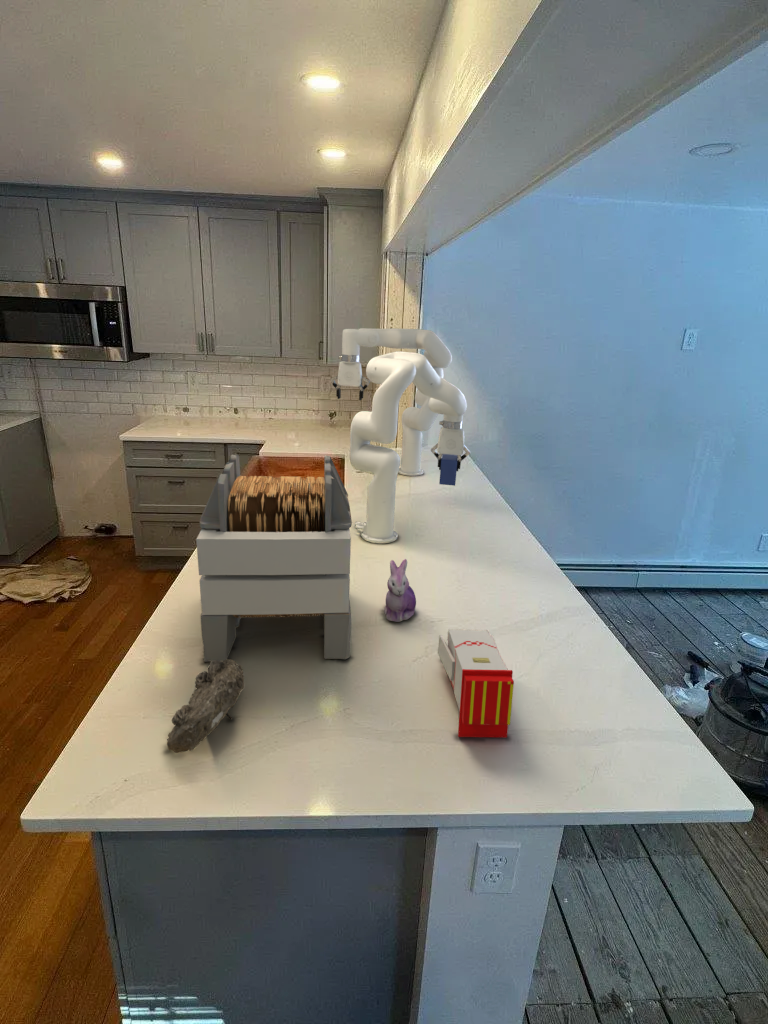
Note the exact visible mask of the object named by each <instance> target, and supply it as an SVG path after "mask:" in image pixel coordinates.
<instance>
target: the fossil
mask: <svg viewBox="0 0 768 1024" xmlns="http://www.w3.org/2000/svg"><path fill="white" fill-rule="evenodd" d="M243 670H244V669H243V667H242V665H240V664H237V662H236V661H235V660H234V659H232V658H231V659H228V658H227V660H224V661H217V660H212V661H209V665H208V666H207V671H201V672H199V673H198V674H197V675H196V676H195V680H194V684H195V685H194V687H195V689H194V690H193V693H192V694H191V697H190V698H189V700H188V704H184V705H182V706H181V707H180V709H177V710H176V711H175V713H174V715H173V716H172V718H171V723H172V724H173V727H172V730H171V731H170V732H168V734H167V738H166V741H167V742H166V745H167V749H168V750H169V751H173V752H174V753H176V754H178V753H182V752H188V751H189V752H192V751H193V750H195V748H196V747H197V746H199V744H200V743H201V742H203V741H204V740H205V739H206V738H207V737H208V736H209V735H210V734H211V733H212V732H214V730H215V729H217V727H218V726H219V724H220V722H221V721H222V720H223V719H224V718H225V716H226V717H227V719H229V720H233V717H232V715H230V714H229V710H230V709H231V708H234V706H235V704H236V703H237V702H238V699H239V697H240V695H241V693H242V691H243V690H245V689H244V688H245V675H244V671H243Z"/></svg>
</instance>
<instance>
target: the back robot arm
mask: <svg viewBox="0 0 768 1024" xmlns="http://www.w3.org/2000/svg"><path fill="white" fill-rule="evenodd" d="M341 334H342V335H341V355H338V360H341V361H339V364H338V373H337V375H335V376H334V377H331V378H330V383H331V385H332V386H333V387H334V389H335V390H336V392H335V393H336V394H335V395H336V398H337V400H340V399H341V398H342V397H341V395H342V390H341V388H342V387H351V388H352V387H355V388H358V389H359V392H358V400H359V401H362V400H363V399H364V391H365V390H366V389H367V388H368V387H369V385H370V383H371V381H370V380H369V379H368V378H366V377H364V376H363V368H362V363H361V362H360V357H361V356H360V352H361V347H364V348H374V347H382V348H383V347H384V348H389V349H396V350H397V349H399V350H402V349H403V350H404V349H405V350H424V351H423V354H422V355H423V356H425V357H426V359H427V360H428V361H429V363H430V364H431V366H432V367H433V369H434V370H435V371H436V373H437V374H438V376H440V377H442V378H443V379H444V369H446V368H449V366H450V365H451V364H452V362H453V354H452V352H451V351H450V349H449V348H448V347H447V345H446V344H445V342H443V340H442V339H441V338H440V337H439V336H438V335H437V333H436V332H434V331H433V330H430V329H422V328H397V327H394V328H393V327H392V328H391V327H389V328H374V327H373V328H369V327H360V328H344V329H342V333H341ZM336 380H337V383H336ZM363 382H364V383H365V384H364V385H363ZM429 399H430V397H428V396H426V395H424V394H422V393H421V392H420V391H419V390H418V389H417V391H416V392H415V395H414V402H415V403H416V405H417V406H420V408H419V407H417V406H409V407H406V408H405V409H404V410H403V411H402V414H401V426H402V439H401V456H400V467H399V471H398V474H400V475H402V476H407V477H416V476H422V475H423V474H424V470H423V469H422V468H421V463H422V451H423V450H422V449H423V432H426V431H428V430H430V429H431V427H432V426H433V425H434V423H435V422H436V420H437V418H438V415H439V414H437V413H434V412H432V411H431V410H430V408H429V405H428V404H429Z"/></svg>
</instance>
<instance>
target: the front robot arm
mask: <svg viewBox="0 0 768 1024" xmlns="http://www.w3.org/2000/svg"><path fill="white" fill-rule="evenodd" d="M423 355H424V354H422V353H419V352H411V351H400V350H399V351H392V352H387V353H384V354H380V355H377V356H374V357H372V358H370V360H369V361H368V363H367V364H366V366H365V367H366V368H365V374H366V377H367V379H368V380H369V381H370V383H373V384H377V385H379V387H378V388H377V389H376V391H375V392H374V394H373V397H372V402H371V403H372V404H371V411H368V410H361V411H359V412H357V413H356V414H355V415H354V416H353V417H352V421H351V424H350V430H349V463H350V465H351V467H352V468H353V469H354V470H356V471H359V472H363V473H366V474H370V475H373V477H372V478H371V480H370V482H369V483H368V485H367V491H366V519H365V520H366V521H364V522H362V521H355V522H354V527H355V529H356V530H361V534H360V535H361V538H362V539H363V540H364V541H366V542H368V543H373V544H389V543H393V542H395V541H397V540H398V537H399V534H398V532H397V531H396V530H395V528H394V527H395V510H396V509H395V508H396V507H395V506H396V491H397V490H396V489H397V481H398V480H397V479H398V474H399V473H398V471H399V468H401V456H400V455H399V453H398V452H397V451H395V450H394V449H392V448H389V447H386V446H381V445H375V444H371V442H372V443H378V444H383V445H389V444H390V445H391V444H392V443H394V441H396V438H397V434H398V422H399V409H400V408H399V406H400V401H401V398H402V397H403V394H404V393H405V391H406V390H407V388H408V387H409V386H410V385H411V384H413V385H414V386H415V387H416V389H417V391H418V390H419V391H420V392H421V393H422V394H424V395H426V396H428V397H430V399H429V404H428V405H429V408H430V410H431V411H432V412H434V413H437V414H438V415H443V419H442V420H440V421H439V423H438V425H439V426H440V425H441V426H442V427H440V429H439V434H438V440H437V443H436V444H435V445H433V447H431V448H430V452H431V453H432V454H433V455H434V457H435V458H436V459H437V468H438V470H439V471H440V470H441V459H442V455H443V454H447V455H457V457H458V460H457V470H456V471H457V472H459V470H461V466H462V465H461V464H462V461H463V460H465V459H466V458H467V457H468V456H469V455H471V451H470V450H469V449H468V448H467V446H466V445H465V429H464V428H463V423H464V414H465V413H466V411H467V408H468V402H467V399H466V396H465V394H464V393H463V392H462V391H461V389H459V387H457V386H456V385H454V384H453V383H451V382H450V381H448V380H446V379H445V378H444V377H443V378H442V377H440V376H438V374H437V373H436V371H435V370H434V369H433V367H432V366H431V364H430V363H429V361H428V360H427V359H426V357H425V356H423ZM464 452H465V453H464Z"/></svg>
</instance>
